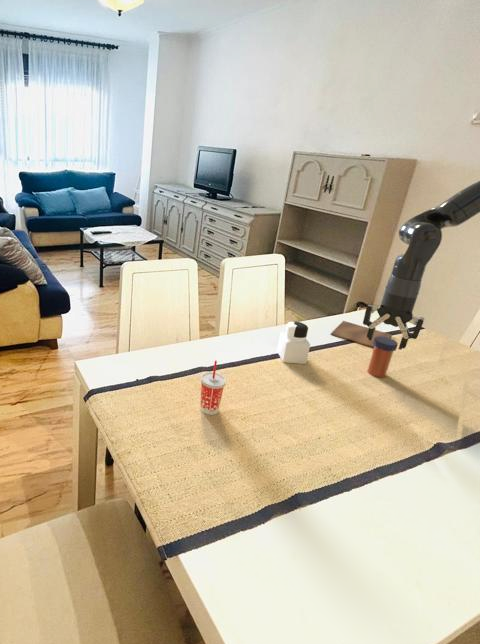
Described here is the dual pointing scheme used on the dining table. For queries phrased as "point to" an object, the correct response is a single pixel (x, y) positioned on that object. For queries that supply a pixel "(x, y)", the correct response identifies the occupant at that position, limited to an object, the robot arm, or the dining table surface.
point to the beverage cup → (211, 391)
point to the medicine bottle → (294, 343)
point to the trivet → (357, 333)
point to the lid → (385, 343)
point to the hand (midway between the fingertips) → (384, 343)
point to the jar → (379, 362)
